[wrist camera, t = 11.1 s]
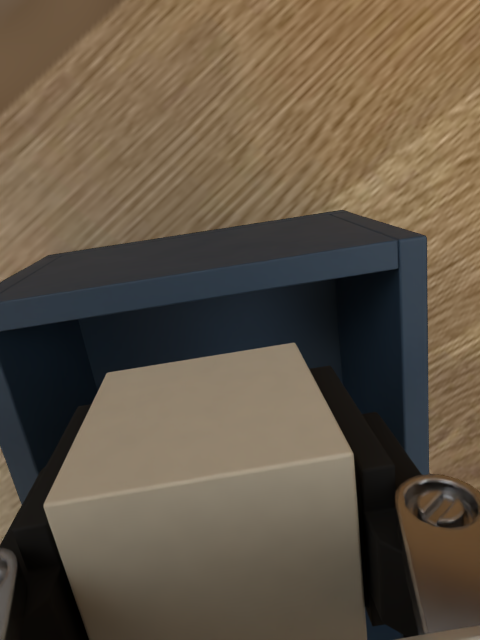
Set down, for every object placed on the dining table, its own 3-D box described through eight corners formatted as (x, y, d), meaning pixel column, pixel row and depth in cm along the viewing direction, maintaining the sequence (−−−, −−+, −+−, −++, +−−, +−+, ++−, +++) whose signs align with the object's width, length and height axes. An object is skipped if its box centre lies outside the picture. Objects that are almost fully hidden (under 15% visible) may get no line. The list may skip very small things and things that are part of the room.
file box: (47, 255, 19) (-51, 309, 12) (343, 209, 19) (427, 235, 12) (129, 545, 24) (96, 711, 17) (363, 505, 24) (431, 650, 17)
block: (145, 524, 12) (113, 717, 8) (106, 371, 10) (40, 505, 6) (312, 496, 12) (370, 671, 8) (295, 341, 11) (354, 452, 6)
